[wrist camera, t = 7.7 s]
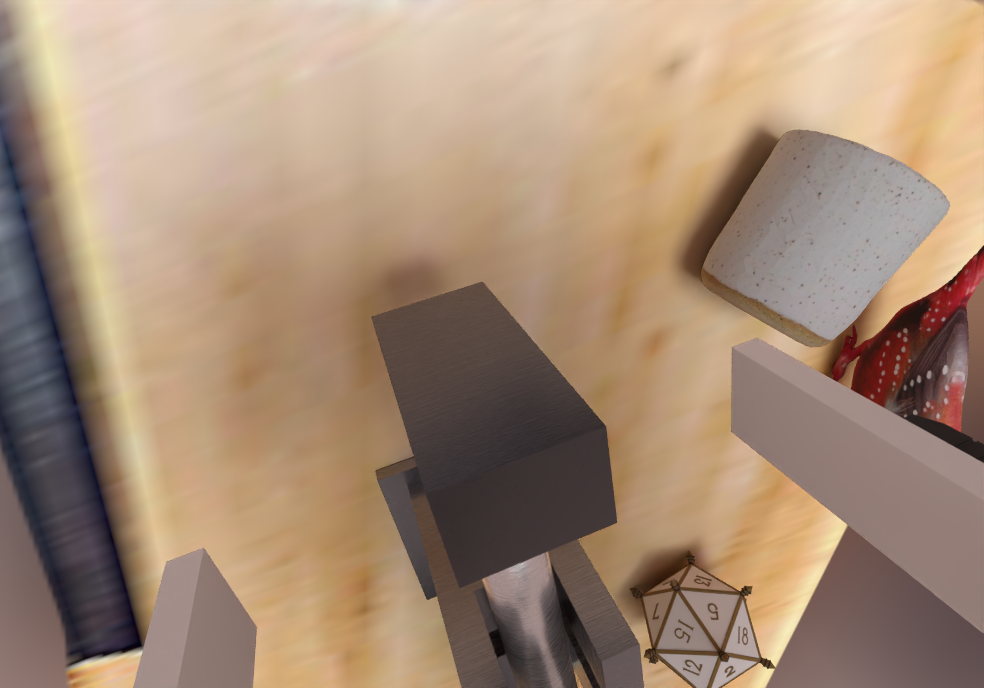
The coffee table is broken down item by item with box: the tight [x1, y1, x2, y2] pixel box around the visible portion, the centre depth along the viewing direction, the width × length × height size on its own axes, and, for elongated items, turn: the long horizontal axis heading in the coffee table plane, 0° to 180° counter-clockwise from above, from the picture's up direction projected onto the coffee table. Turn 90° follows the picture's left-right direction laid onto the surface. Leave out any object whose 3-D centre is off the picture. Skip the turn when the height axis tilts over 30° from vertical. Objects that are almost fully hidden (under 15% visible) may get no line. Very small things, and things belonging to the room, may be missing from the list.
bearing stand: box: [376, 457, 644, 688], centre depth 27 cm, size 10×9×13 cm
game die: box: [630, 551, 775, 688], centre depth 38 cm, size 9×8×10 cm
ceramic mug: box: [701, 130, 950, 347], centre depth 27 cm, size 11×8×8 cm
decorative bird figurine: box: [832, 246, 984, 432], centre depth 31 cm, size 3×18×10 cm, turn 178°
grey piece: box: [372, 282, 617, 688], centre depth 20 cm, size 19×4×9 cm, turn 12°
